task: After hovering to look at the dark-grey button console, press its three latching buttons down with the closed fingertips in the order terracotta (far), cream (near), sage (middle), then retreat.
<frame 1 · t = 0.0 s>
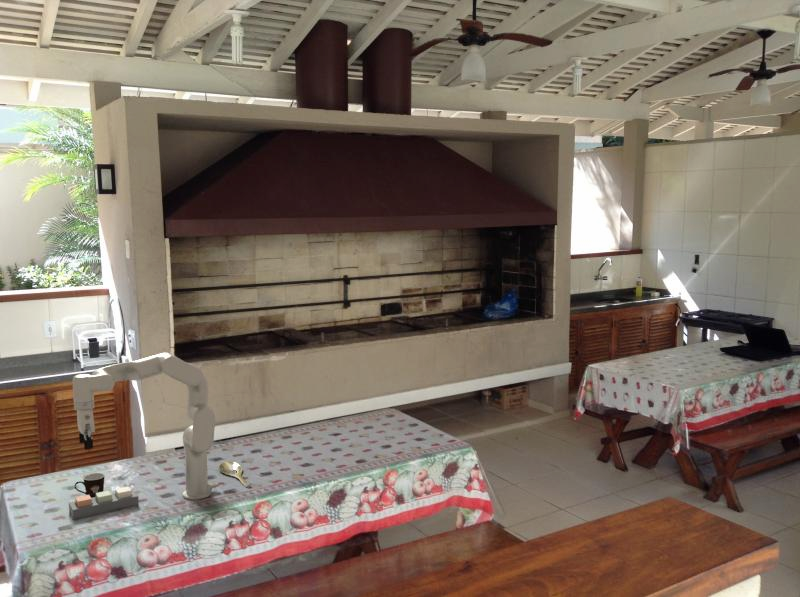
hand: (86, 445, 291), 31 cm above the table, tool pointing down, fingers open, 9 cm apart
spoon: (236, 477, 342), on the table
button cream: (123, 494, 308), point 5 cm above the table, slide at 0.0 cm
button terracotta: (83, 502, 299), point 5 cm above the table, slide at 0.0 cm
coffee mug: (91, 498, 316), on the table
console: (104, 509, 304), on the table
button sage: (103, 498, 303), point 5 cm above the table, slide at 0.0 cm
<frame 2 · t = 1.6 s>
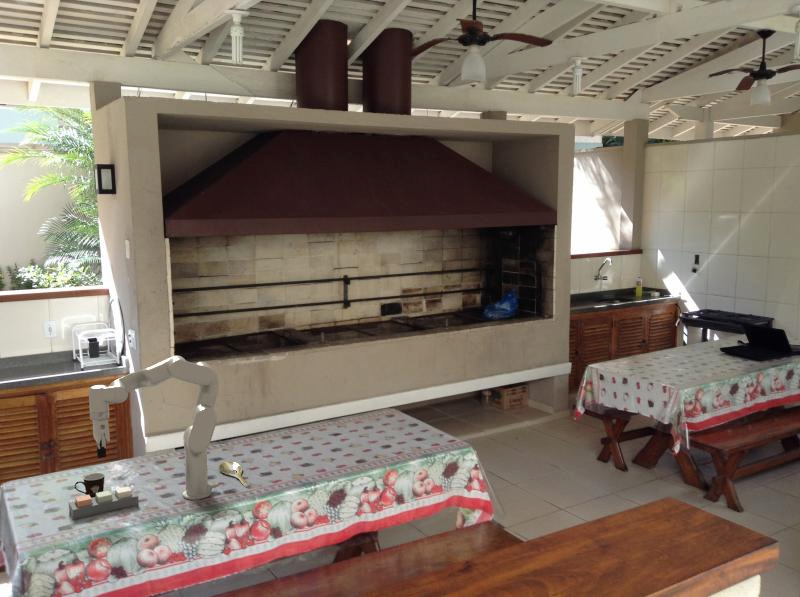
hand: (101, 457, 301), 23 cm above the table, tool pointing down, fingers closed
nothing on the table moved.
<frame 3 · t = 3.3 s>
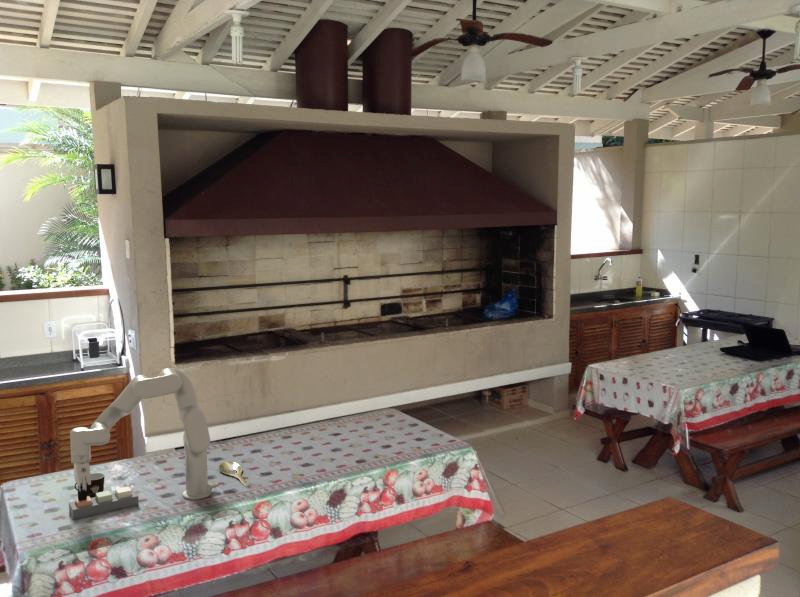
hand: (82, 499, 299), 6 cm above the table, tool pointing down, fingers closed
button terracotta: (83, 504, 299), point 4 cm above the table, slide at 0.7 cm, touching gripper
everything else where it was.
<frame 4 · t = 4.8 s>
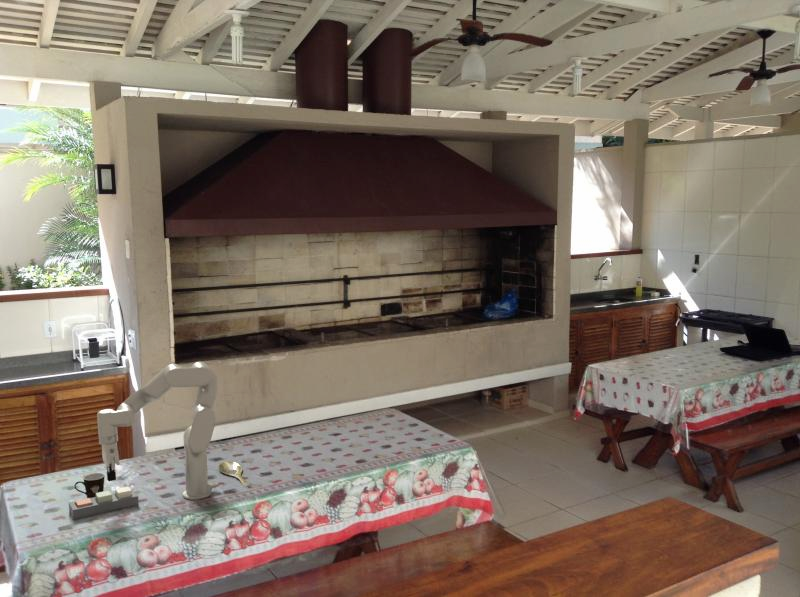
hand: (111, 480, 304), 12 cm above the table, tool pointing down, fingers closed
button terracotta: (83, 506, 299), point 3 cm above the table, slide at 1.5 cm
everything else where it was.
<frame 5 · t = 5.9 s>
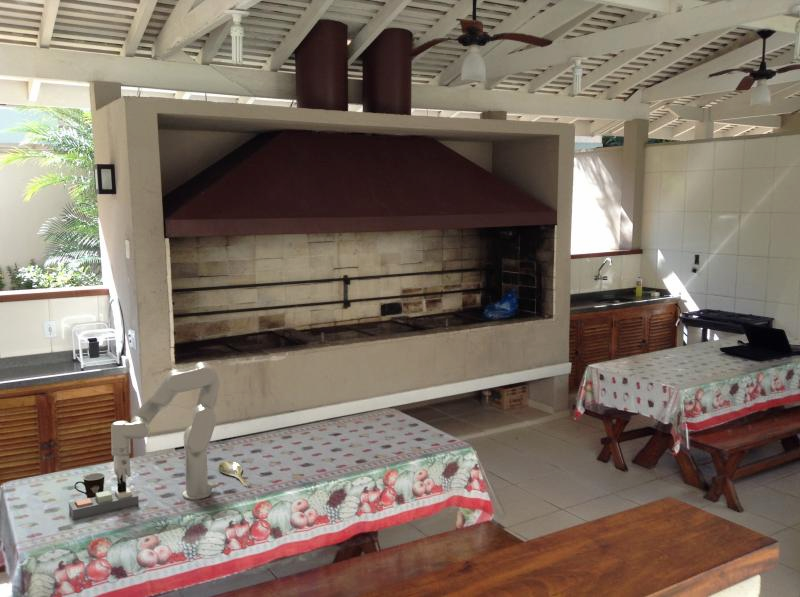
hand: (121, 491, 307), 6 cm above the table, tool pointing down, fingers closed
button cream: (123, 495, 308), point 4 cm above the table, slide at 0.7 cm, touching gripper
everything else where it was.
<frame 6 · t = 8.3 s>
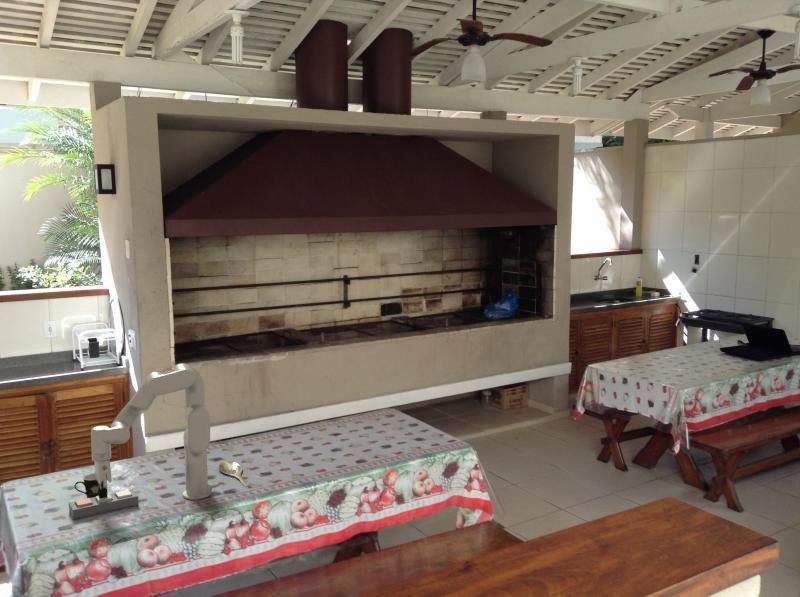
hand: (103, 497, 303), 5 cm above the table, tool pointing down, fingers closed
button cream: (123, 497, 308), point 3 cm above the table, slide at 1.6 cm
button sage: (104, 501, 304), point 3 cm above the table, slide at 1.5 cm, touching gripper
everything else where it was.
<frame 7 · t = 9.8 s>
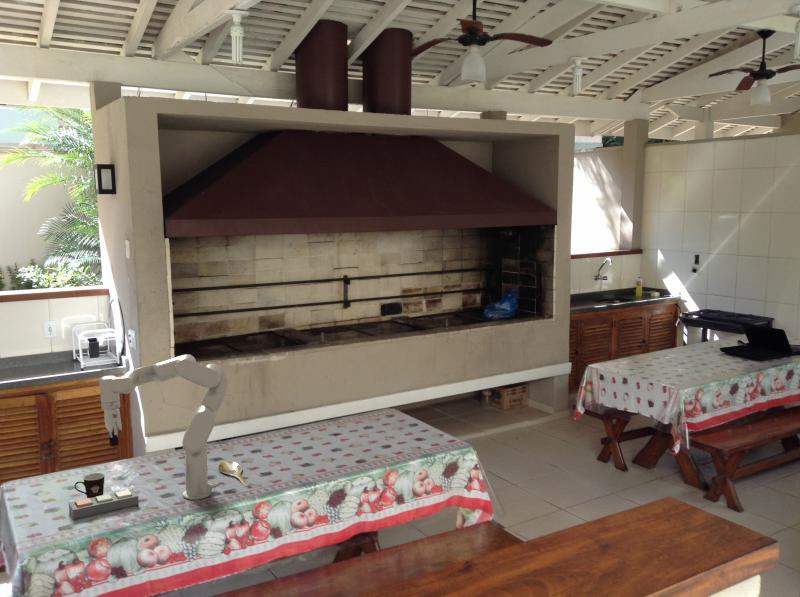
hand: (114, 445, 310), 25 cm above the table, tool pointing down, fingers closed
button sage: (104, 501, 304), point 3 cm above the table, slide at 1.5 cm
everything else where it was.
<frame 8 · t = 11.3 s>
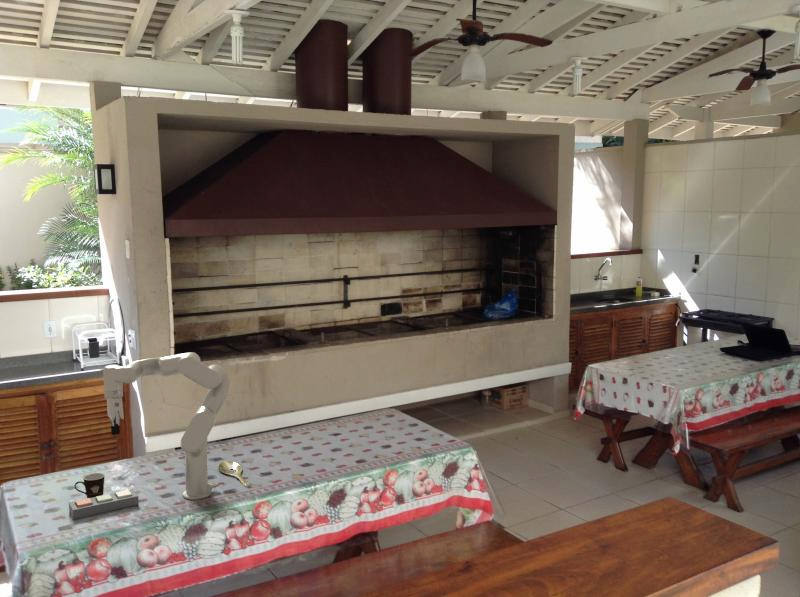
hand: (115, 434, 313), 29 cm above the table, tool pointing down, fingers closed
nothing on the table moved.
at the end: button terracotta slide at 1.5 cm; button cream slide at 1.6 cm; button sage slide at 1.5 cm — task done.
